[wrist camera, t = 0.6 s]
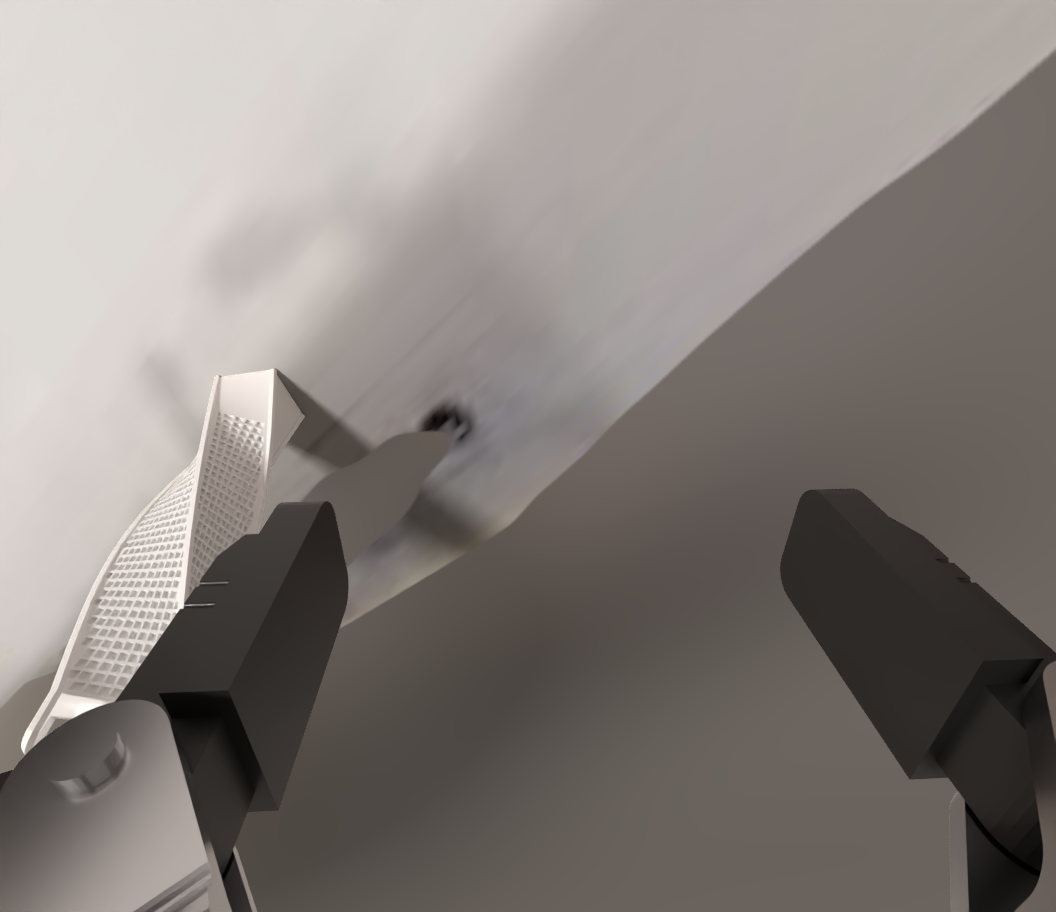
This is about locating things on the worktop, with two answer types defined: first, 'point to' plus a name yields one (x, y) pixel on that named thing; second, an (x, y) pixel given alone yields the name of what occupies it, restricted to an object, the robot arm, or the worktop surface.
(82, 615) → the skyscraper
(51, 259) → the worktop surface
